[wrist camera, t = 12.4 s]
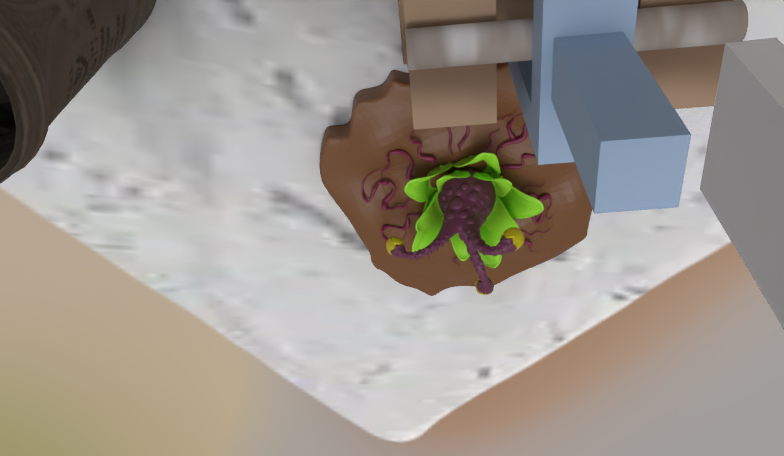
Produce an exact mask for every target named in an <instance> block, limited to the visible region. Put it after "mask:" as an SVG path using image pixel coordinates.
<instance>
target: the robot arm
mask: <svg viewBox="0 0 784 456" xmlns="http://www.w3.org/2000/svg"><path fill="white" fill-rule="evenodd" d="M700 190H701V191H702V193H703V195H704V196H705V198H706V200H707V201H708V203H709V205H710V206H711V208H712V210H713V211H714V213H715V215H716V216H717V218H718V220H719V221H720V223H721V225H722V226H723V228H724V230H725V231H726V233H727V235H728V236H729V238H730V240H731V242H732V243H733V245H734V246H735V248H736V250H737V252H738V253H739V255H740V257H741V258H742V260H743V262H744V263H745V265H746V267H747V268H748V270H749V272H750V273H751V275H752V276H753V278H754V280H755V282H756V283H757V285H758V287H759V288H760V290H761V292H762V294H763V295H764V297H765V299H766V300H767V302H768V304H769V305H770V307H771V309H772V310H773V312H774V314H775V315H776V317H777V319H778V320H779V322H780V323H781V325H782V327H783V329H784V45H783V44H782V43H781V42H780V41H779V40H778V39H777V38H768V39H759V40H750V41H741V42H732V43H725V47H724V53H723V59H722V64H721V70H720V76H719V82H718V88H717V93H716V99H715V105H714V111H713V117H712V122H711V128H710V134H709V140H708V145H707V151H706V157H705V163H704V169H703V174H702V180H701V186H700Z"/></svg>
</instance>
